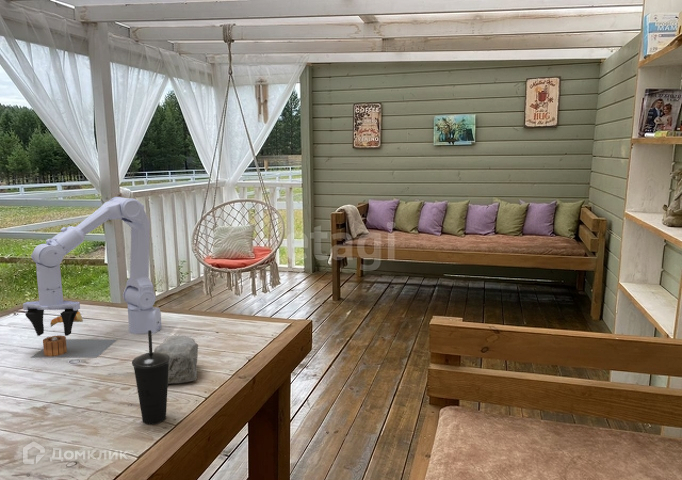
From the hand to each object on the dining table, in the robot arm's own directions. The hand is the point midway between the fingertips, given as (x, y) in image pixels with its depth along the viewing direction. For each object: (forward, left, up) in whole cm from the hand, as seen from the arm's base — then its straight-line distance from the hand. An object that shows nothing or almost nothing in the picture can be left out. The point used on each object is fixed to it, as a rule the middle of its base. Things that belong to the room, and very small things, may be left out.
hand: (54, 334), depth 142 cm
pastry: (+12, -30, -7) cm, 33 cm away
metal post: (0, 0, -5) cm, 5 cm away
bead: (0, 0, -5) cm, 5 cm away
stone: (-37, +12, -7) cm, 40 cm away
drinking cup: (-39, +34, -7) cm, 52 cm away
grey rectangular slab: (-4, -3, -7) cm, 9 cm away
